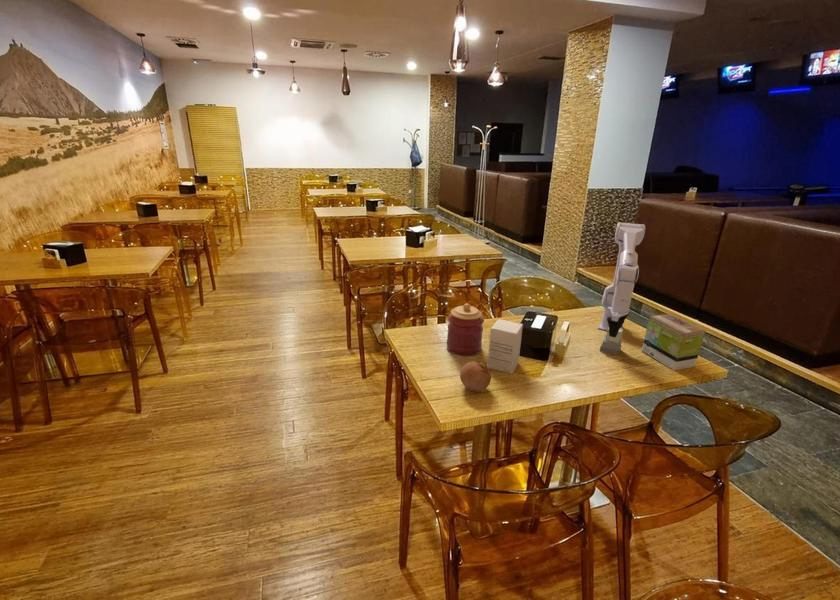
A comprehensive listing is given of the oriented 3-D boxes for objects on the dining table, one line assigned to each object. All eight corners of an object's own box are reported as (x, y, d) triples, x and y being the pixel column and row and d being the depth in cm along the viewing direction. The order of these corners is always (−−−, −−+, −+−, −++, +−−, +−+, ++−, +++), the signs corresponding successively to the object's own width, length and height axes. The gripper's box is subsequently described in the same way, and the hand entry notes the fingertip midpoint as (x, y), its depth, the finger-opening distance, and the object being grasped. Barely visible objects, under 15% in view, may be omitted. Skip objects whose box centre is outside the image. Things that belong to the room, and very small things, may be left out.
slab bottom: (603, 346, 162) (604, 340, 161) (620, 351, 159) (621, 345, 158) (599, 352, 158) (600, 346, 157) (616, 357, 155) (617, 350, 154)
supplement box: (494, 356, 151) (498, 318, 146) (518, 362, 147) (523, 323, 142) (486, 367, 143) (490, 327, 138) (512, 374, 140) (517, 333, 134)
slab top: (603, 340, 161) (604, 335, 160) (620, 344, 159) (621, 338, 158) (601, 347, 156) (603, 341, 155) (619, 351, 154) (620, 344, 153)
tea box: (640, 351, 158) (648, 315, 153) (660, 348, 161) (670, 312, 156) (673, 371, 145) (684, 332, 140) (695, 367, 148) (707, 329, 143)
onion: (485, 396, 133) (503, 373, 129) (468, 401, 126) (486, 376, 122) (466, 375, 138) (482, 352, 134) (448, 378, 131) (465, 354, 127)
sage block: (608, 336, 159) (610, 325, 158) (621, 339, 157) (623, 328, 155) (605, 340, 156) (607, 328, 154) (618, 343, 154) (620, 332, 152)
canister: (473, 359, 148) (476, 313, 142) (440, 350, 154) (442, 305, 148) (486, 345, 159) (490, 301, 153) (455, 337, 165) (458, 294, 159)
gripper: (614, 290, 158) (607, 323, 163) (605, 301, 147) (598, 336, 152) (635, 294, 154) (627, 328, 159) (627, 306, 143) (619, 342, 148)
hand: (614, 333), depth 155 cm, fingers open, 7 cm apart
